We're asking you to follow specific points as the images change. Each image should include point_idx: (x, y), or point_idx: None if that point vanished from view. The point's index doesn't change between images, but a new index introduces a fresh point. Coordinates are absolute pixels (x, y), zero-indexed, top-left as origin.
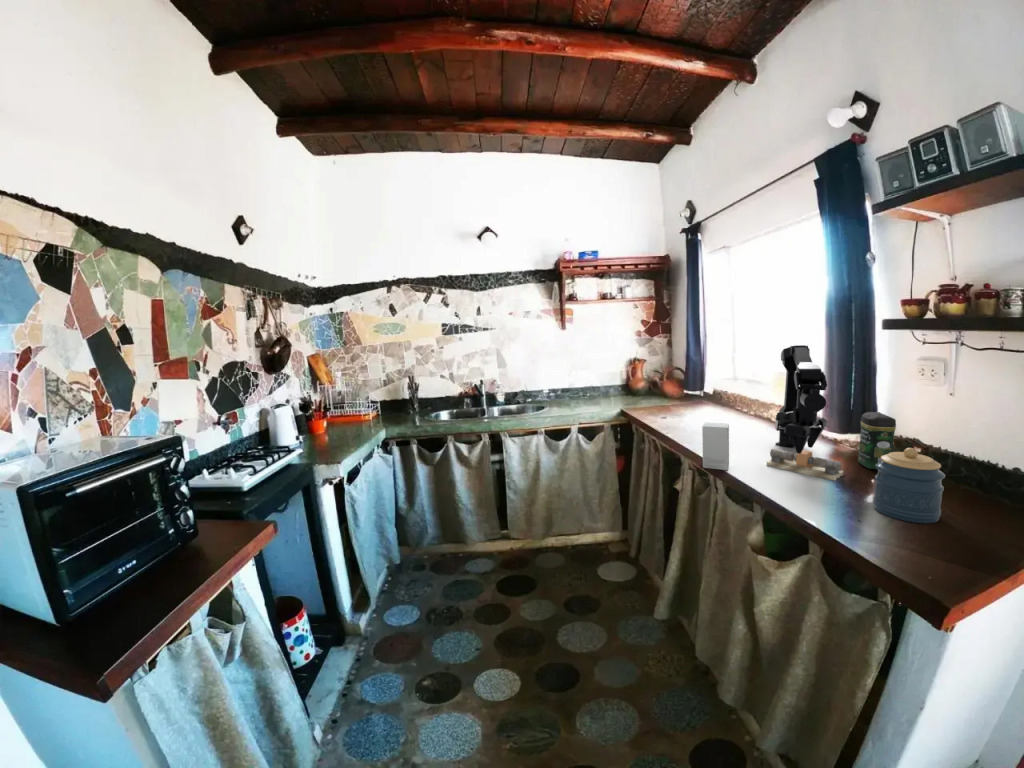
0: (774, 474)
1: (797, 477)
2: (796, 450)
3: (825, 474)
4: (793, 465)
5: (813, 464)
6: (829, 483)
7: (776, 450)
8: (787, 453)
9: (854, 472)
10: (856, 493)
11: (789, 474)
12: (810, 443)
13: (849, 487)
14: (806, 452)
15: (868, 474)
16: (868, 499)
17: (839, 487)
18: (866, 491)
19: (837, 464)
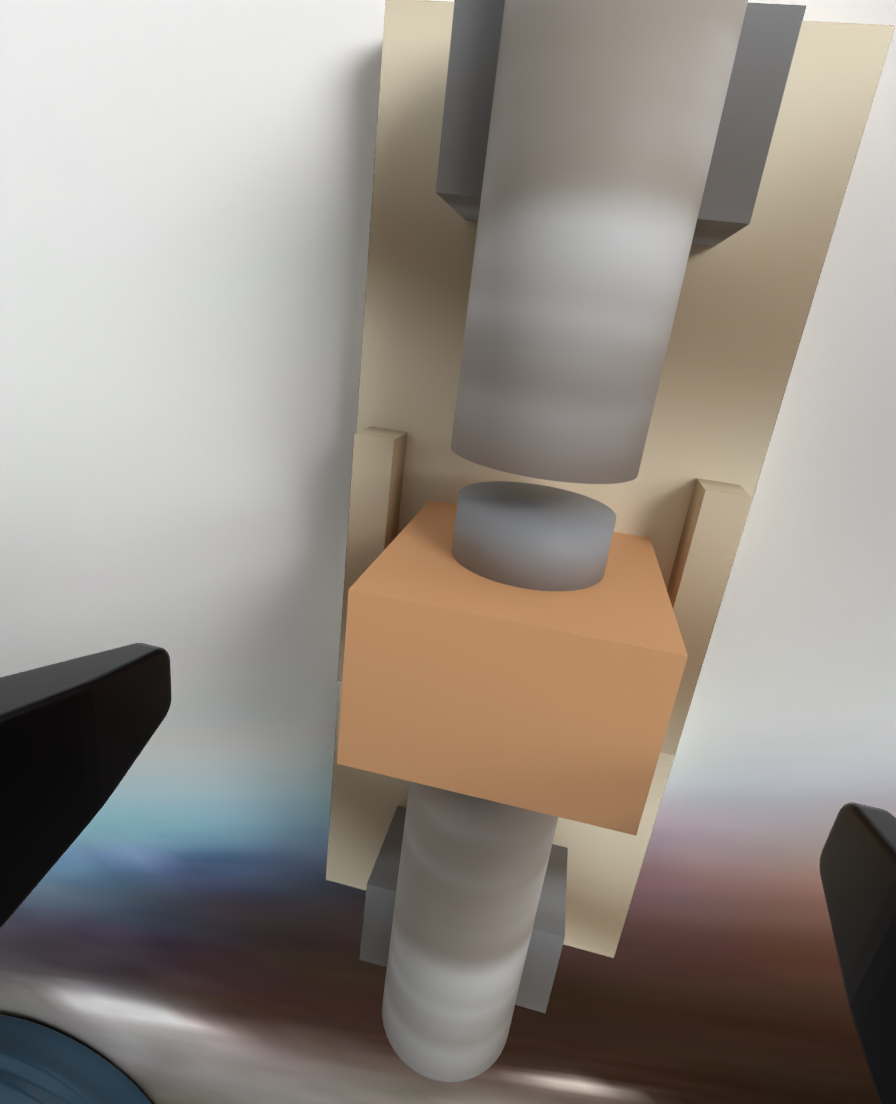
0: (85, 302)
1: (185, 553)
2: (83, 661)
3: (353, 811)
4: (352, 486)
5: None
6: (237, 812)
7: (557, 30)
8: (486, 356)
9: (772, 1004)
10: (157, 957)
11: (220, 457)
12: (878, 945)
13: (255, 931)
14: (500, 747)
15: (772, 1091)
16: (102, 1002)
17: (196, 873)
18: (254, 1013)
19: (390, 1026)
